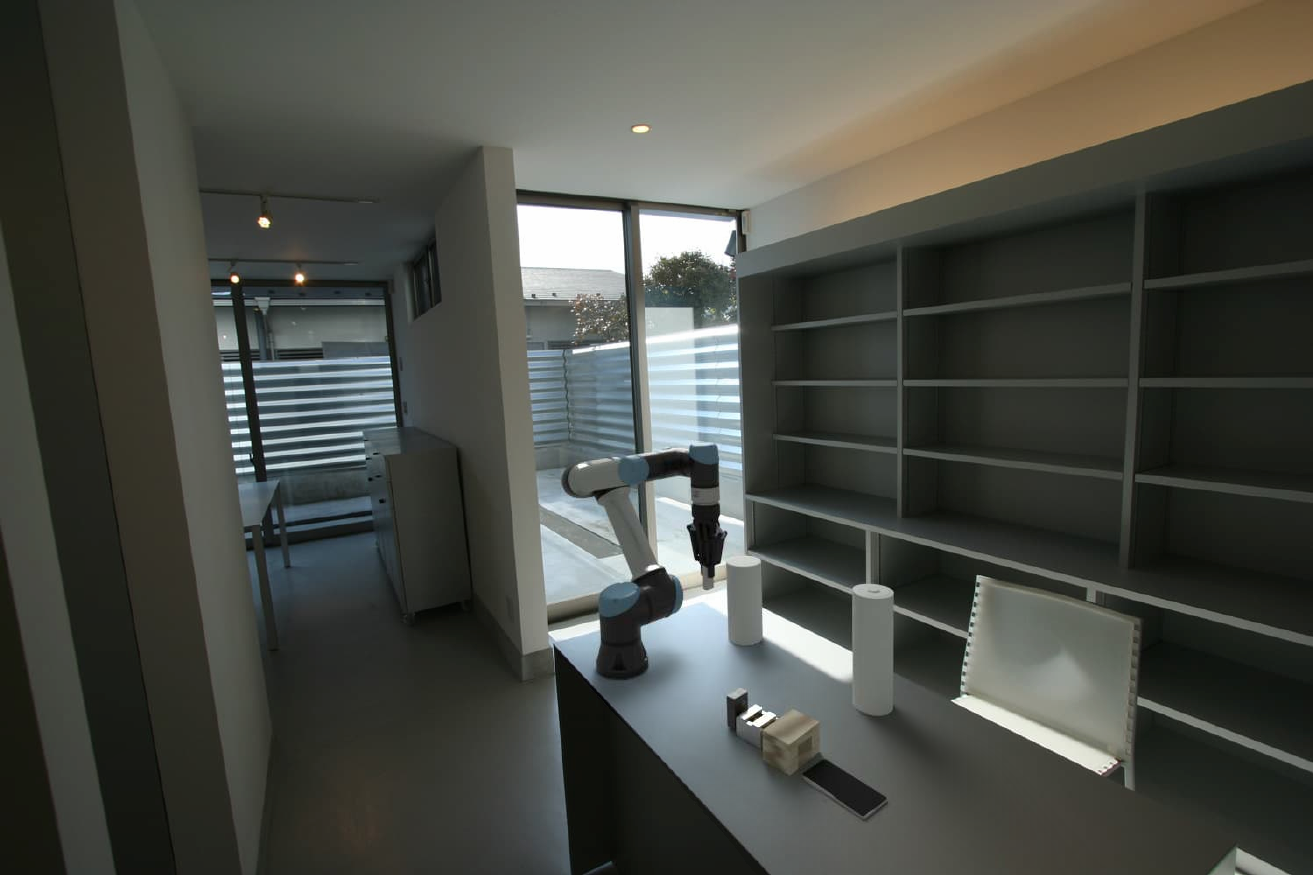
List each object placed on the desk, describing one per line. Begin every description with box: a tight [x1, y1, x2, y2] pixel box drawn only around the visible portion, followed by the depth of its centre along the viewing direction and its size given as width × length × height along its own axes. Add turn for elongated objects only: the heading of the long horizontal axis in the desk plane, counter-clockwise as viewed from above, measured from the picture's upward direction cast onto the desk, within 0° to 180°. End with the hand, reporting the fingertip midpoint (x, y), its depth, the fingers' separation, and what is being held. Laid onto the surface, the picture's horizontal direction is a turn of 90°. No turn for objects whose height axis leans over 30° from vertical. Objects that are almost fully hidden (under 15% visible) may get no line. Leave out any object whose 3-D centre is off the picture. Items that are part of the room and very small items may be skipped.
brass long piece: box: [725, 687, 771, 731], centre depth 135 cm, size 18×5×8 cm, turn 41°
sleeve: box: [736, 704, 779, 751], centre depth 137 cm, size 7×6×5 cm
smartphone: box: [801, 758, 888, 820], centre depth 120 cm, size 8×1×15 cm
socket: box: [762, 708, 821, 777], centre depth 130 cm, size 7×11×7 cm, turn 131°
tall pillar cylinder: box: [725, 554, 764, 647], centre depth 185 cm, size 11×11×25 cm
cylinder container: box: [851, 583, 895, 717], centre depth 146 cm, size 9×9×30 cm
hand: (708, 588), depth 158 cm, fingers closed
